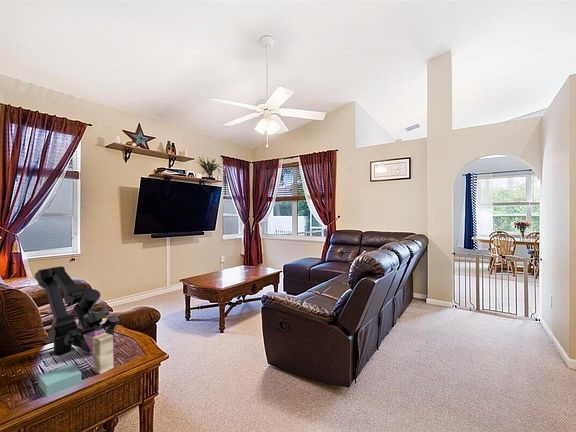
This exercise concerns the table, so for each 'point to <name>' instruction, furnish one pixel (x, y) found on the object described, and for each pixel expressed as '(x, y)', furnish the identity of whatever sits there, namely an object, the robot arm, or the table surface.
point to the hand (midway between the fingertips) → (102, 347)
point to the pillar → (102, 353)
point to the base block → (59, 379)
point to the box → (90, 336)
